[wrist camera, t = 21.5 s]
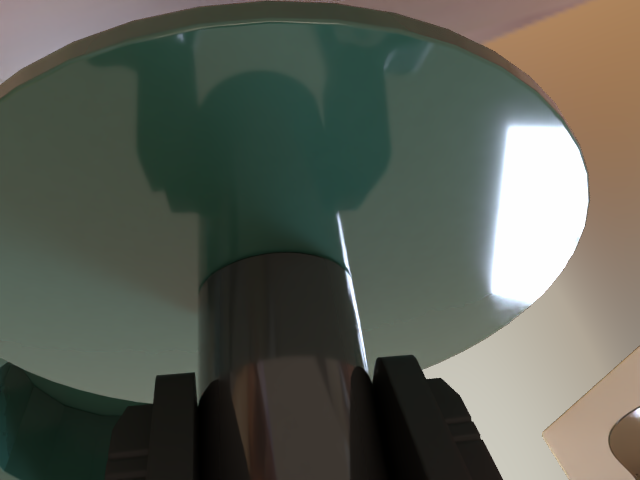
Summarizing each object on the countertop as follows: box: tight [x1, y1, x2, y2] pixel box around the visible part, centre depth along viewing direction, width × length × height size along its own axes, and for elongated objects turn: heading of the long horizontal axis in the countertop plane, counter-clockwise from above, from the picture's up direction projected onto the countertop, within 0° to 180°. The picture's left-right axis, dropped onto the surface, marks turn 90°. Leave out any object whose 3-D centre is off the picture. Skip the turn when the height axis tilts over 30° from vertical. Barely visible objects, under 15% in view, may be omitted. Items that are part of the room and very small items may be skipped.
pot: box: [0, 358, 151, 480], centre depth 31 cm, size 13×19×6 cm
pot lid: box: [0, 1, 590, 480], centre depth 12 cm, size 14×14×7 cm
